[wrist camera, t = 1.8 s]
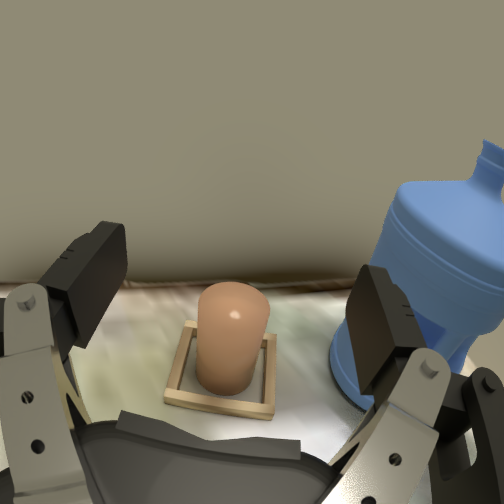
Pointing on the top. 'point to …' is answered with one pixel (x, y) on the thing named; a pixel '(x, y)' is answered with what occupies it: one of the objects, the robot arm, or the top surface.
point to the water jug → (441, 264)
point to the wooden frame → (215, 403)
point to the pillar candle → (229, 336)
